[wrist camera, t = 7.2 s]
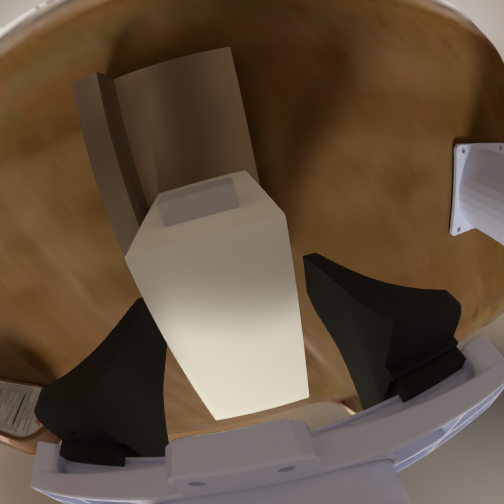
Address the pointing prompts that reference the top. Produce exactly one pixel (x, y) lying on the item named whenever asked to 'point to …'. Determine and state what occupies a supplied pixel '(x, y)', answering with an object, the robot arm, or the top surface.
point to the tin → (21, 417)
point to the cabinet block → (224, 292)
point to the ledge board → (162, 132)
